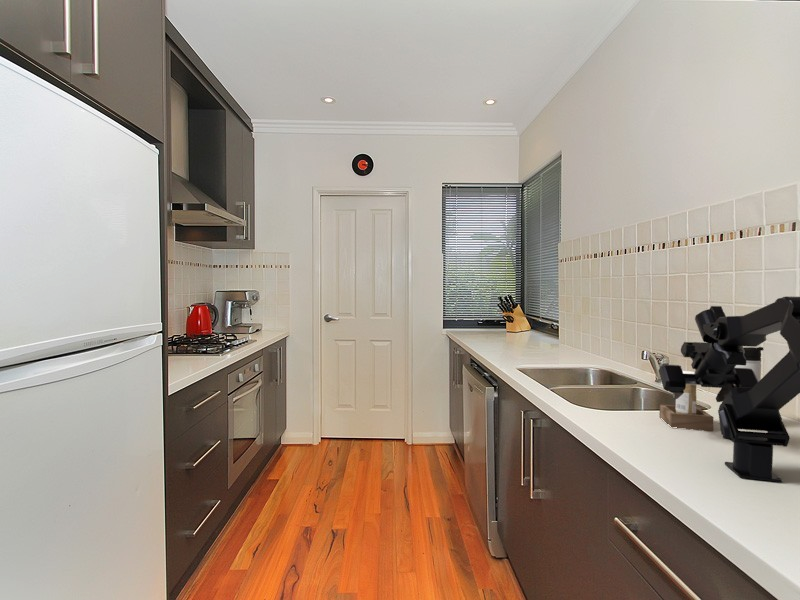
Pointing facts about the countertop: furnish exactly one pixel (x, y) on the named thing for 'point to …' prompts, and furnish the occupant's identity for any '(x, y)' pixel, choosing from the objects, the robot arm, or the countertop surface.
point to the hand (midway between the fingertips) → (695, 399)
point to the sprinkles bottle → (687, 399)
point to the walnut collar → (686, 418)
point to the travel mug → (753, 360)
